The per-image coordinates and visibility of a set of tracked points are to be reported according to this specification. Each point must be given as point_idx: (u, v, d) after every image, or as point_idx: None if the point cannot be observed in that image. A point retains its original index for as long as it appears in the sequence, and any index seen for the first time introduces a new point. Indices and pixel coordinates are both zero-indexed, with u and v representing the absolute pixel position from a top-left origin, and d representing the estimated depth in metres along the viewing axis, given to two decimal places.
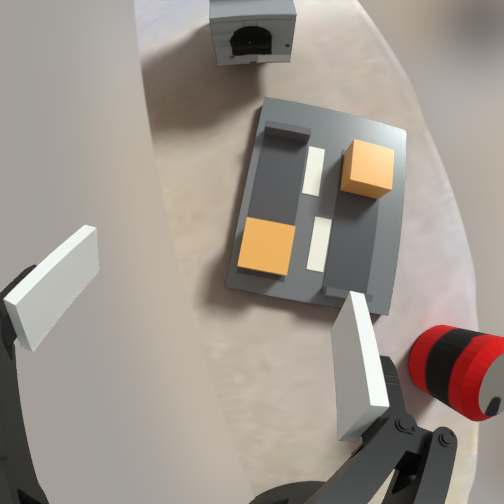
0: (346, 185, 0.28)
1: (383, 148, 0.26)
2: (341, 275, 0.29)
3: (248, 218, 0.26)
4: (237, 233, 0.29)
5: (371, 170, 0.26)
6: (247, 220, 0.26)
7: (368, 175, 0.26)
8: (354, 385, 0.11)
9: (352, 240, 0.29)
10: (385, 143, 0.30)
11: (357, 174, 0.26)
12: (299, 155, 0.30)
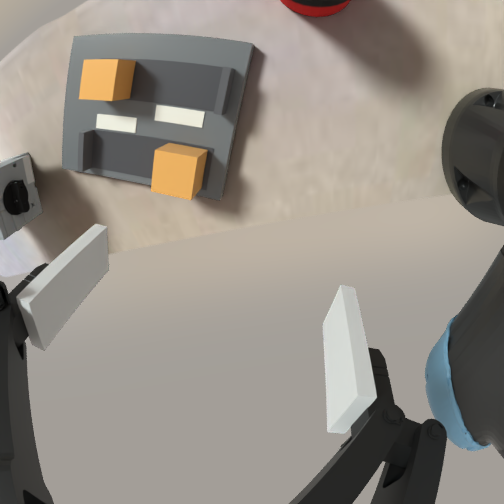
0: (121, 98, 0.25)
1: (83, 70, 0.23)
2: (208, 94, 0.26)
3: (151, 190, 0.28)
4: None
5: (103, 80, 0.23)
6: (153, 190, 0.28)
7: (107, 84, 0.23)
8: (343, 376, 0.11)
9: (174, 83, 0.26)
10: (87, 55, 0.25)
11: (107, 94, 0.24)
12: (104, 136, 0.29)
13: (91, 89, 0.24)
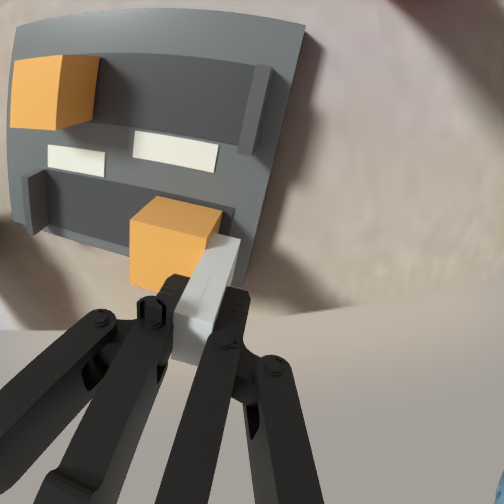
0: (75, 122, 0.14)
1: (14, 78, 0.11)
2: (224, 113, 0.15)
3: (131, 282, 0.17)
4: None
5: (40, 94, 0.12)
6: (134, 283, 0.17)
7: (46, 100, 0.12)
8: None
9: (164, 94, 0.15)
10: (32, 53, 0.14)
11: (48, 118, 0.12)
12: (60, 180, 0.18)
13: (25, 110, 0.12)
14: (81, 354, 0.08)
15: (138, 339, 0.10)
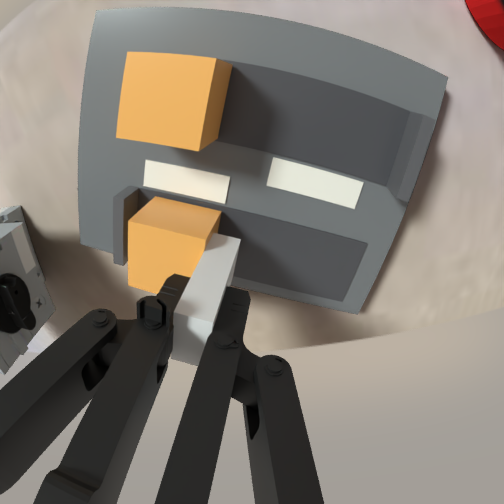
0: (209, 141, 0.14)
1: (126, 75, 0.11)
2: (373, 152, 0.15)
3: (129, 283, 0.16)
4: (287, 296, 0.20)
5: (176, 102, 0.12)
6: (132, 285, 0.17)
7: (186, 111, 0.12)
8: None
9: (313, 122, 0.15)
10: (122, 46, 0.14)
11: (187, 135, 0.12)
12: None
13: (146, 119, 0.12)
14: (81, 354, 0.08)
15: (138, 339, 0.10)
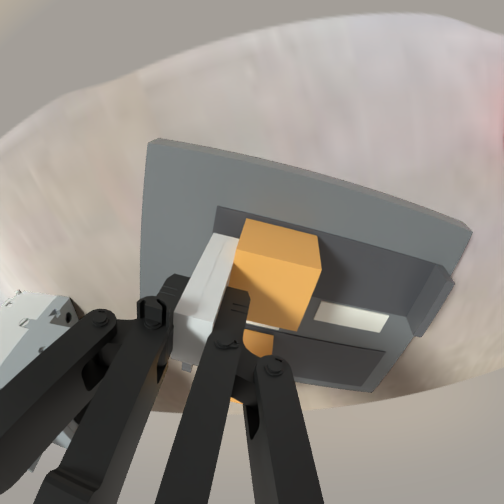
0: None
1: (235, 269, 0.15)
2: (400, 295, 0.19)
3: None
4: (319, 384, 0.24)
5: (282, 298, 0.15)
6: None
7: (290, 306, 0.15)
8: None
9: (357, 277, 0.18)
10: (183, 191, 0.17)
11: (288, 321, 0.16)
12: None
13: (253, 306, 0.16)
14: (81, 354, 0.08)
15: (138, 339, 0.10)
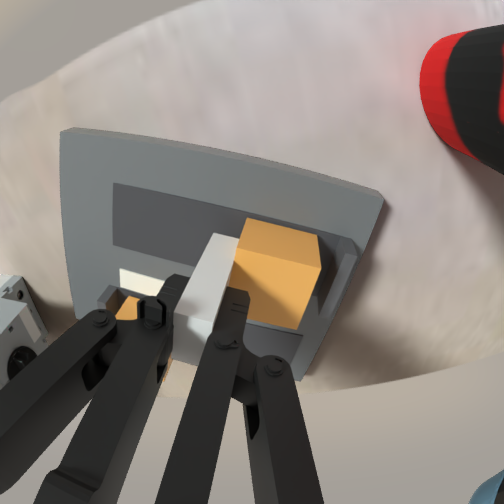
0: None
1: (235, 268, 0.15)
2: None
3: None
4: None
5: (282, 297, 0.15)
6: None
7: (290, 304, 0.16)
8: None
9: None
10: (87, 172, 0.17)
11: (288, 319, 0.16)
12: None
13: (253, 305, 0.16)
14: (81, 354, 0.08)
15: (138, 339, 0.10)
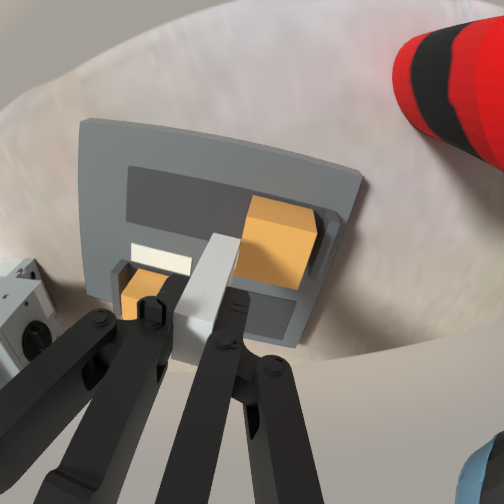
0: None
1: (245, 234, 0.18)
2: None
3: None
4: None
5: (285, 259, 0.18)
6: None
7: (292, 265, 0.19)
8: None
9: None
10: (105, 156, 0.20)
11: (290, 280, 0.19)
12: None
13: (260, 267, 0.19)
14: (81, 354, 0.08)
15: (138, 339, 0.10)
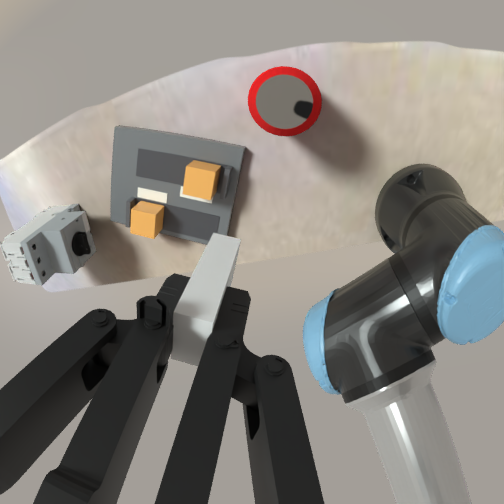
0: (213, 195, 0.43)
1: (186, 174, 0.40)
2: None
3: (131, 232, 0.46)
4: (193, 240, 0.49)
5: (203, 185, 0.41)
6: (132, 232, 0.46)
7: (206, 188, 0.41)
8: None
9: None
10: (127, 144, 0.43)
11: (206, 195, 0.41)
12: None
13: (193, 189, 0.41)
14: (81, 354, 0.08)
15: (138, 339, 0.10)
